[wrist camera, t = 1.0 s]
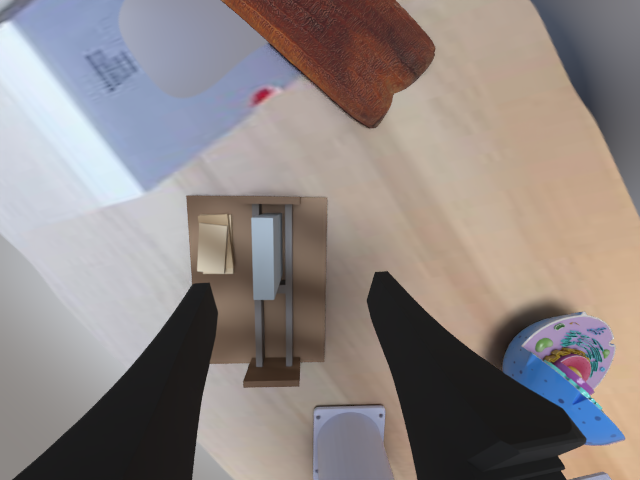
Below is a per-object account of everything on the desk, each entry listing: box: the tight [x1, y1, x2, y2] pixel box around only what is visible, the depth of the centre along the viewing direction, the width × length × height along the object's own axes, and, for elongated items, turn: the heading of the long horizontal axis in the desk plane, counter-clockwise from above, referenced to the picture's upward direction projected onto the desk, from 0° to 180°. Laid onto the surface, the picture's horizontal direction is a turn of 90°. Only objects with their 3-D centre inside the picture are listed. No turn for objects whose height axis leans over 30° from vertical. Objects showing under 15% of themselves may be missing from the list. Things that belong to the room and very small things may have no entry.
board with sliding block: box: [186, 196, 327, 388], centre depth 24 cm, size 17×13×4 cm
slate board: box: [251, 213, 283, 300], centre depth 22 cm, size 6×2×6 cm, turn 179°
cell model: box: [502, 312, 625, 446], centre depth 24 cm, size 10×12×10 cm
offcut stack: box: [197, 214, 235, 274], centre depth 24 cm, size 6×3×2 cm, turn 179°
